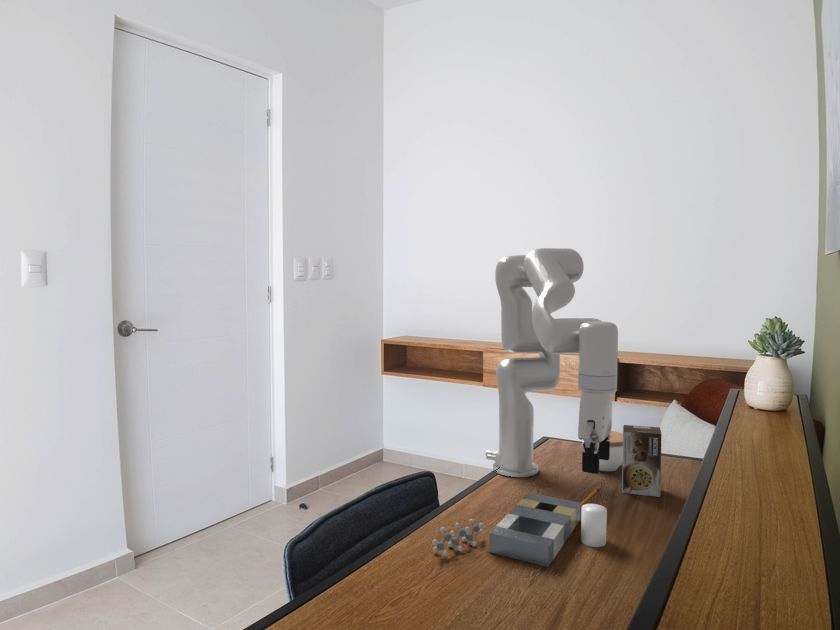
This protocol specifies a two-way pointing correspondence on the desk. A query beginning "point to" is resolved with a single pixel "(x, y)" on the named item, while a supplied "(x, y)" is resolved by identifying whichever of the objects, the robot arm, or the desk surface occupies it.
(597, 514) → the white capsule cylinder
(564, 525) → the socket block
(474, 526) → the molecular model
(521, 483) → the desk surface
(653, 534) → the desk surface
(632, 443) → the coffee box
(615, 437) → the lidded bowl
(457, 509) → the desk surface
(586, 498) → the pencil
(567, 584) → the desk surface
